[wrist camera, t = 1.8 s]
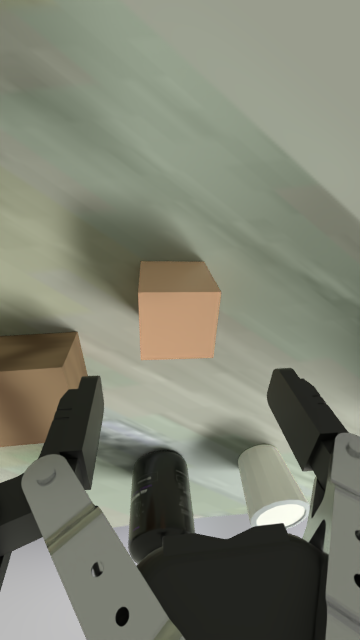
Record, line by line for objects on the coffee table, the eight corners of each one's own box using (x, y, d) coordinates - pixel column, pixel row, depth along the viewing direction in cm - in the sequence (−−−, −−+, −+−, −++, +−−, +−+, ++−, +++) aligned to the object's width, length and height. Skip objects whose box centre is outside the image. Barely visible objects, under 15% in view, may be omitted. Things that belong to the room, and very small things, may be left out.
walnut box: (78, 330, 24) (62, 367, 19) (93, 396, 28) (83, 439, 23) (-19, 336, 23) (-57, 375, 19) (11, 403, 27) (-15, 448, 23)
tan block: (204, 261, 22) (221, 292, 16) (199, 316, 24) (213, 357, 19) (140, 261, 21) (138, 292, 16) (142, 317, 24) (141, 360, 18)
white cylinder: (222, 460, 35) (238, 521, 29) (266, 433, 33) (292, 493, 27) (251, 479, 38) (271, 538, 32) (293, 455, 36) (322, 514, 30)
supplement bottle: (131, 449, 32) (124, 584, 22) (188, 446, 33) (207, 576, 23) (132, 482, 35) (126, 613, 25) (184, 479, 36) (198, 604, 26)
